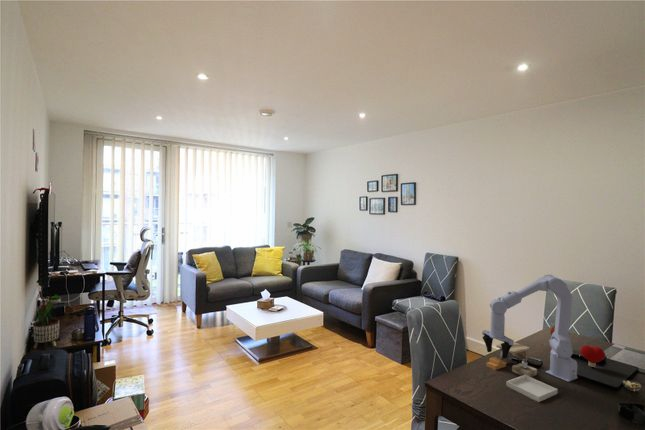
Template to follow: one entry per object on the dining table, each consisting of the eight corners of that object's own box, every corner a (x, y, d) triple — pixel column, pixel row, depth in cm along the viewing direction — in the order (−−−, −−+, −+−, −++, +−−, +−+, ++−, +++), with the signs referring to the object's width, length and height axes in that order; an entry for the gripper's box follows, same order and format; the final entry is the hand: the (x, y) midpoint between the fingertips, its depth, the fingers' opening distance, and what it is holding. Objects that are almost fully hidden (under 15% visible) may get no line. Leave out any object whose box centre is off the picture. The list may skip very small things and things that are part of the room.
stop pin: (527, 373, 152) (528, 360, 152) (525, 374, 151) (525, 361, 151) (523, 371, 154) (523, 358, 154) (520, 372, 153) (521, 359, 153)
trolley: (528, 362, 164) (529, 347, 164) (511, 368, 157) (511, 352, 157) (510, 355, 172) (511, 341, 171) (493, 360, 165) (493, 345, 165)
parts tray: (557, 393, 136) (557, 389, 136) (538, 402, 129) (538, 396, 129) (524, 379, 147) (524, 374, 147) (506, 386, 141) (506, 381, 141)
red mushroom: (582, 368, 158) (583, 347, 158) (577, 362, 165) (578, 342, 165) (607, 372, 155) (608, 351, 155) (601, 366, 161) (602, 345, 161)
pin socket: (536, 374, 151) (537, 369, 151) (527, 378, 148) (527, 372, 148) (521, 368, 157) (521, 362, 157) (512, 371, 154) (512, 365, 154)
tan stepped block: (495, 370, 155) (495, 363, 155) (486, 366, 159) (486, 359, 159) (505, 367, 159) (506, 359, 159) (497, 363, 163) (497, 356, 163)
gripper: (478, 322, 163) (477, 350, 163) (507, 332, 150) (506, 362, 151) (487, 320, 166) (487, 347, 167) (516, 329, 154) (515, 359, 154)
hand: (496, 354), depth 159 cm, fingers open, 7 cm apart
